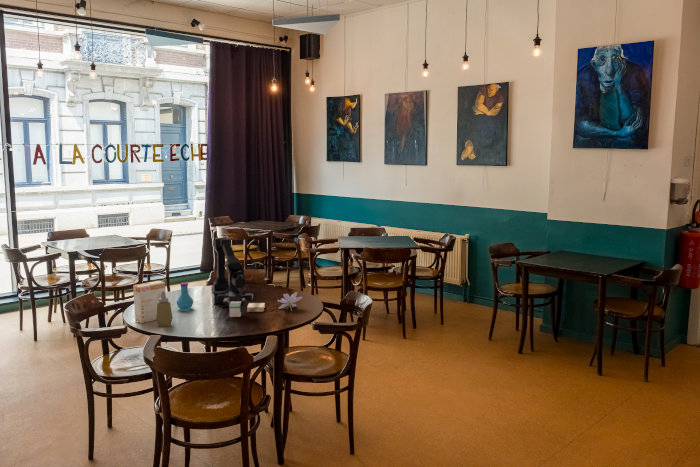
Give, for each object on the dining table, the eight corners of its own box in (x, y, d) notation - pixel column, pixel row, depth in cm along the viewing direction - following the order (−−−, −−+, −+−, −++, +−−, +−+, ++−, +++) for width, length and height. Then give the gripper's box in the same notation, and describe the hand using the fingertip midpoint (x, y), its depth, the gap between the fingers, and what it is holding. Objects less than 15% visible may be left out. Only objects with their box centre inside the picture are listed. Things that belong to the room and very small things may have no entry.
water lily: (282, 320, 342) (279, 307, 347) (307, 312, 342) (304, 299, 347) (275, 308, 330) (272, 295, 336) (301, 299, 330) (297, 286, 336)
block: (247, 312, 335) (247, 307, 335) (249, 308, 344) (248, 303, 344) (263, 312, 336) (263, 307, 335) (264, 308, 345) (264, 303, 344)
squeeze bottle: (158, 323, 314) (156, 289, 312) (174, 323, 315) (172, 289, 312) (154, 328, 306) (153, 293, 304) (171, 327, 307) (169, 292, 304)
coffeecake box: (161, 315, 330) (159, 280, 327) (167, 317, 325) (165, 282, 322) (134, 320, 319) (132, 284, 316) (140, 323, 314) (138, 286, 311)
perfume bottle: (197, 308, 344) (196, 282, 342) (186, 312, 336) (185, 285, 333) (184, 306, 348) (183, 280, 345) (173, 310, 339) (172, 284, 337)
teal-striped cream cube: (229, 317, 326) (229, 304, 325) (231, 314, 331) (230, 301, 330) (240, 316, 326) (239, 304, 325) (241, 313, 332) (241, 301, 331)
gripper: (214, 288, 318) (215, 317, 320) (250, 287, 319) (251, 316, 321) (218, 283, 329) (219, 311, 331) (252, 282, 330) (253, 310, 332)
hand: (235, 312), depth 328 cm, fingers closed on teal-striped cream cube, 6 cm apart
